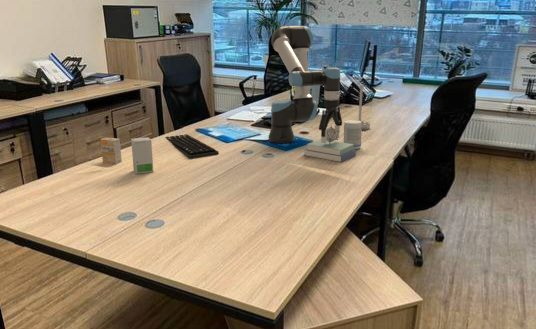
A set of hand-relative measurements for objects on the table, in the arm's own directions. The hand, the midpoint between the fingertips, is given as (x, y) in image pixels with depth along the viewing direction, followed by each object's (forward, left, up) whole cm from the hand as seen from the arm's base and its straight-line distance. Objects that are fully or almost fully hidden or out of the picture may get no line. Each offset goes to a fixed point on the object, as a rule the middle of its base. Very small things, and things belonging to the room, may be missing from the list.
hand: (330, 140), depth 231 cm
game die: (0, 0, -2) cm, 2 cm away
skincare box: (-57, -75, -8) cm, 95 cm away
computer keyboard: (-71, -33, -9) cm, 79 cm away
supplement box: (-79, -77, -8) cm, 111 cm away
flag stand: (-14, +63, -8) cm, 65 cm away
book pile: (0, 0, -8) cm, 8 cm away
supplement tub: (+2, +21, -8) cm, 23 cm away
